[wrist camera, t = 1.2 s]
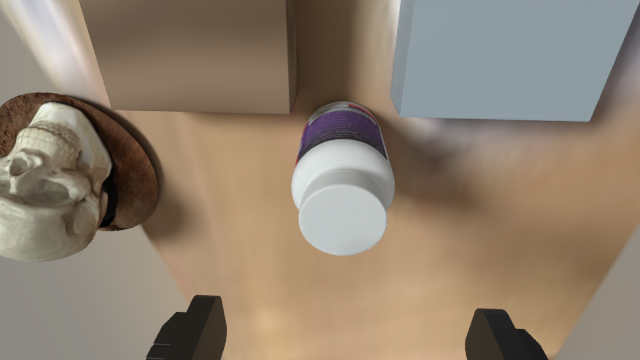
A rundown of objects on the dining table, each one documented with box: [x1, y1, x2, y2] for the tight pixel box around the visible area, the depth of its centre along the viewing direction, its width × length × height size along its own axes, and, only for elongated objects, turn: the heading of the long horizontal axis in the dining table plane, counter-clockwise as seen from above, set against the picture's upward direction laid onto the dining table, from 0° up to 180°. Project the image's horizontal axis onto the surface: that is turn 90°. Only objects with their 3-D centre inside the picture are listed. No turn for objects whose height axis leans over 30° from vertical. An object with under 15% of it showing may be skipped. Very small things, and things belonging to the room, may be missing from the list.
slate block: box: [390, 0, 640, 122], centre depth 18 cm, size 10×10×4 cm
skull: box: [0, 92, 158, 262], centre depth 25 cm, size 12×10×10 cm
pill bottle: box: [292, 101, 395, 256], centre depth 19 cm, size 5×5×10 cm
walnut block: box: [79, 0, 297, 114], centre depth 18 cm, size 10×10×4 cm
